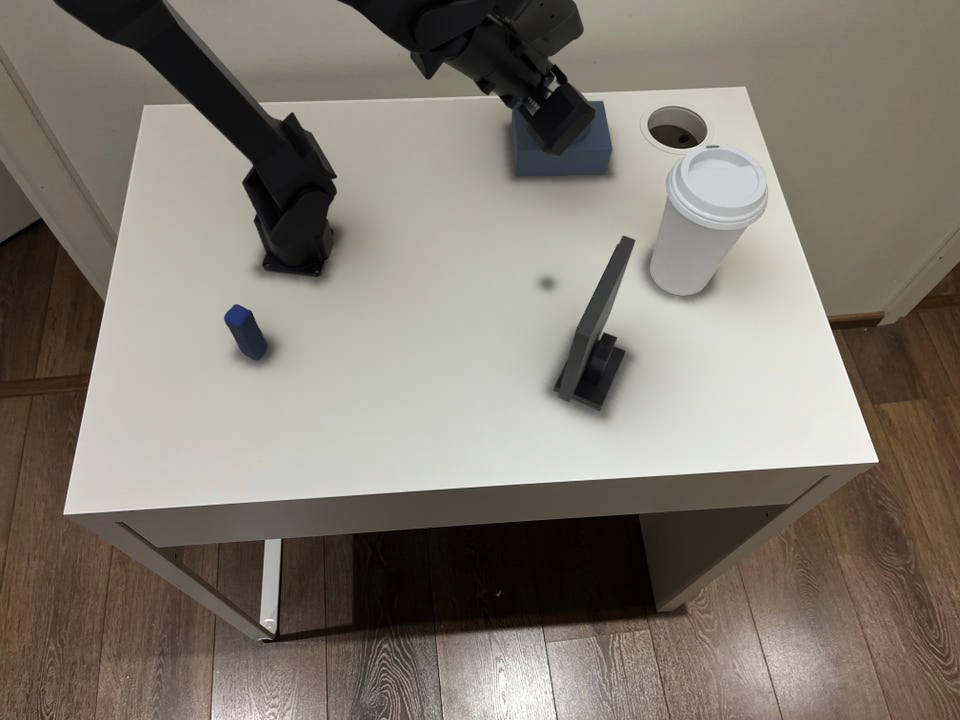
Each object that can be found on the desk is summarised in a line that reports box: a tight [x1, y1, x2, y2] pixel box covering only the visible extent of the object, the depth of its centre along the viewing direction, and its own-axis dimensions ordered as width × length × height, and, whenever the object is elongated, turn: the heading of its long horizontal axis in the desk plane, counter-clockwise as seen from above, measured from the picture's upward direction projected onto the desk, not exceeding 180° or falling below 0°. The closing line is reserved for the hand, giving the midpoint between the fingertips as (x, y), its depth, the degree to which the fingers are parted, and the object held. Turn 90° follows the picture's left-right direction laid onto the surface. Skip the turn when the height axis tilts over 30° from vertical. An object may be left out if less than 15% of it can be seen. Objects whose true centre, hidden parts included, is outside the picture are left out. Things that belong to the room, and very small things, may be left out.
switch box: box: [510, 100, 613, 177], centre depth 83 cm, size 11×8×6 cm
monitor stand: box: [553, 331, 627, 411], centre depth 68 cm, size 5×7×6 cm
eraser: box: [223, 303, 268, 361], centre depth 68 cm, size 2×2×7 cm
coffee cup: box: [649, 143, 769, 297], centre depth 71 cm, size 10×10×15 cm
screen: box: [557, 234, 636, 403], centre depth 63 cm, size 1×11×12 cm, turn 155°
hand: (565, 104), depth 80 cm, fingers closed, pressing on power button
